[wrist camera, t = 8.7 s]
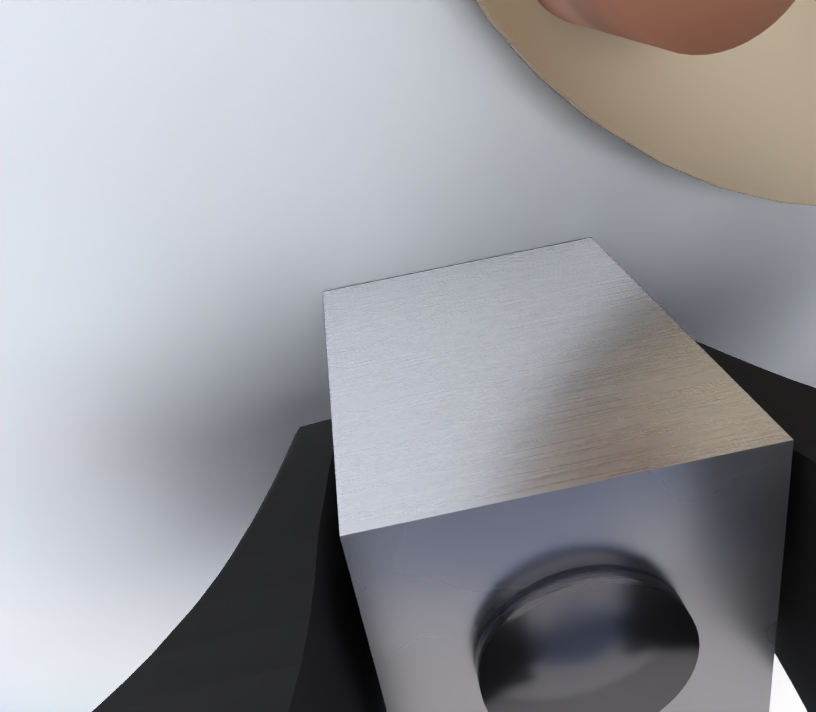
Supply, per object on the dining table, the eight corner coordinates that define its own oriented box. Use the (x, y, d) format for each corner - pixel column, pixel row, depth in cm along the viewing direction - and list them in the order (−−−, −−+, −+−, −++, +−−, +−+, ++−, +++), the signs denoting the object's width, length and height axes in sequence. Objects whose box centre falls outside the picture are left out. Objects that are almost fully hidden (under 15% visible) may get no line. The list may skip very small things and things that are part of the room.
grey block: (591, 237, 13) (811, 458, 7) (602, 456, 15) (780, 754, 9) (322, 291, 13) (340, 559, 7) (373, 504, 15) (417, 836, 9)
